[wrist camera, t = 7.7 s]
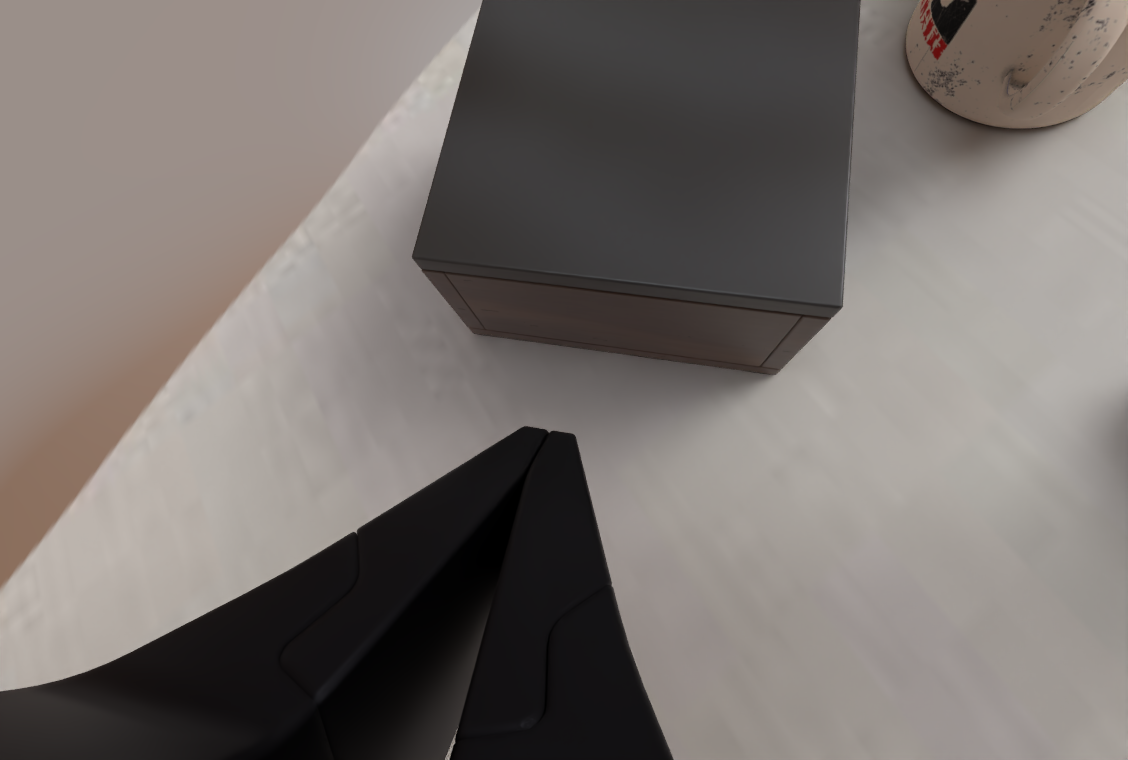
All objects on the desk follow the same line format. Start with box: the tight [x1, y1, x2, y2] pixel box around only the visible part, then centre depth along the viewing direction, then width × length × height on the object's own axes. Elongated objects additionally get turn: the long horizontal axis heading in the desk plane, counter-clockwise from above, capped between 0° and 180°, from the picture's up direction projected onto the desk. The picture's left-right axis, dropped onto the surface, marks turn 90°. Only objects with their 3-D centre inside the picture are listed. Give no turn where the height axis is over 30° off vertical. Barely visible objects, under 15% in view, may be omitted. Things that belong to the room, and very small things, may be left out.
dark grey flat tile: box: [412, 0, 861, 318], centre depth 17 cm, size 11×13×1 cm
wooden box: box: [422, 269, 831, 375], centre depth 20 cm, size 11×13×6 cm
